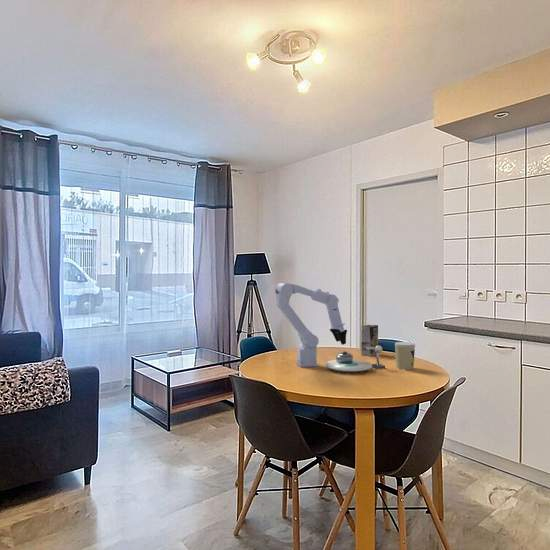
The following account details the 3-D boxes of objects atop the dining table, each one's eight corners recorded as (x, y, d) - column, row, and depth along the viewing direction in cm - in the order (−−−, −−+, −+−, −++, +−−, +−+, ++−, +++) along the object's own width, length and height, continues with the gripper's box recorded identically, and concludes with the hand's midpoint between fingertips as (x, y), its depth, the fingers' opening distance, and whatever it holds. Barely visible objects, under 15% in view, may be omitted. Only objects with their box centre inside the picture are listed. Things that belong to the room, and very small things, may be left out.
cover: (339, 363, 203) (339, 353, 203) (334, 360, 211) (333, 350, 211) (355, 363, 205) (355, 353, 205) (349, 359, 213) (349, 350, 213)
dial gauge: (368, 369, 202) (368, 346, 202) (364, 366, 207) (364, 344, 207) (385, 368, 203) (385, 345, 203) (380, 366, 208) (380, 344, 208)
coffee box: (371, 356, 231) (371, 326, 231) (360, 355, 235) (360, 326, 235) (378, 353, 238) (378, 325, 238) (367, 352, 242) (367, 324, 242)
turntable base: (336, 374, 192) (336, 371, 192) (324, 365, 210) (324, 362, 210) (374, 372, 195) (374, 369, 195) (359, 363, 213) (359, 360, 213)
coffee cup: (416, 370, 198) (416, 345, 198) (395, 370, 200) (395, 344, 200) (413, 366, 207) (413, 341, 207) (394, 365, 209) (394, 341, 209)
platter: (334, 372, 190) (334, 370, 190) (319, 361, 211) (319, 360, 211) (380, 369, 194) (380, 368, 194) (361, 359, 215) (361, 358, 215)
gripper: (347, 316, 209) (353, 343, 210) (337, 313, 223) (343, 337, 224) (334, 320, 207) (340, 347, 209) (324, 316, 221) (331, 341, 223)
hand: (341, 342), depth 216 cm, fingers open, 7 cm apart
